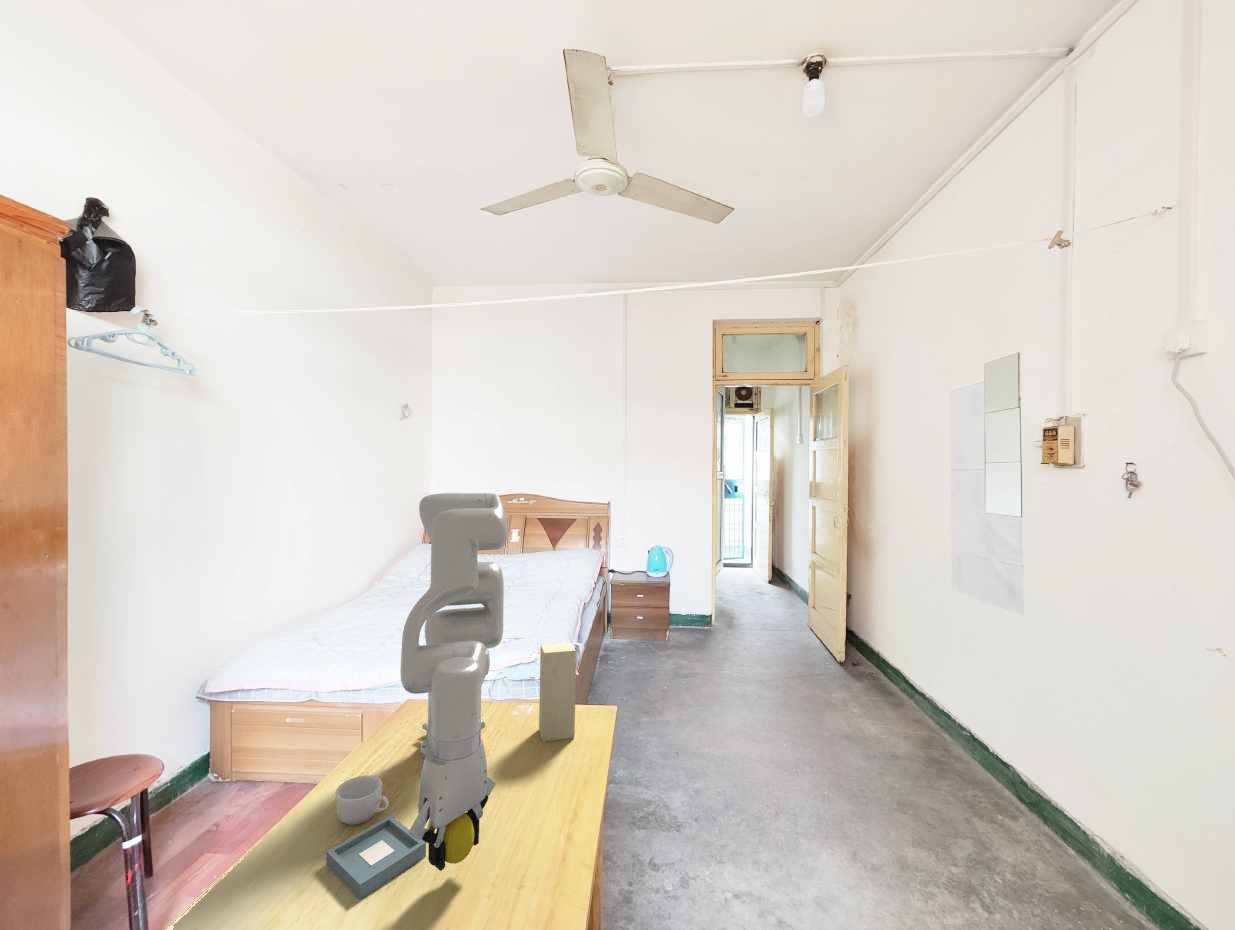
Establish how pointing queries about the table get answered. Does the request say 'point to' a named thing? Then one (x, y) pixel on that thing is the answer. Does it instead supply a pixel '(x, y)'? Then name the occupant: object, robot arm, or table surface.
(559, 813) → the table surface
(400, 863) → the tray
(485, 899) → the table surface
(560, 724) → the beige rectangular block
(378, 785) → the teacup
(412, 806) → the table surface
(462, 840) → the lemon
